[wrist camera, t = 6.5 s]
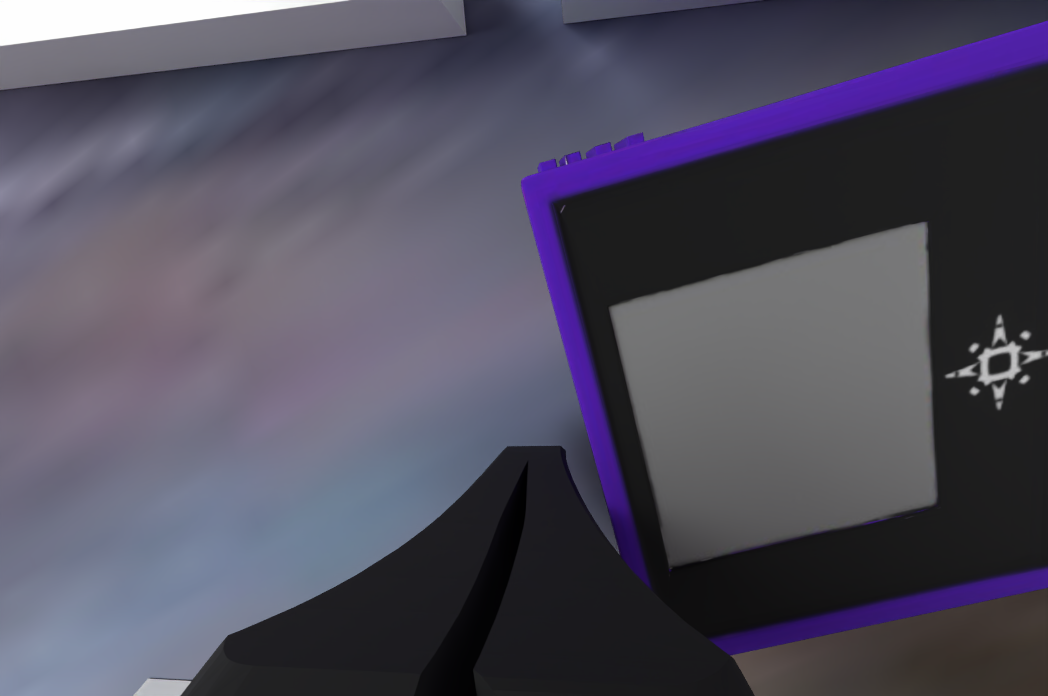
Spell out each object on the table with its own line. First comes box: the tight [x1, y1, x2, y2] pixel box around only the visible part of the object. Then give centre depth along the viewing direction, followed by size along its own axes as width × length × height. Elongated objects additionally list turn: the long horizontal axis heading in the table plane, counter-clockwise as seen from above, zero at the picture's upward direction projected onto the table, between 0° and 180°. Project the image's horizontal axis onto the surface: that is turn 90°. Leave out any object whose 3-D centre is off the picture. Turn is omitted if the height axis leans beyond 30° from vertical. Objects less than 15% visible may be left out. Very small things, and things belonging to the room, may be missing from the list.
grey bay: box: [0, 0, 466, 696], centre depth 13 cm, size 14×21×2 cm, turn 4°
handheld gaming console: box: [521, 21, 1048, 655], centre depth 9 cm, size 9×5×15 cm
